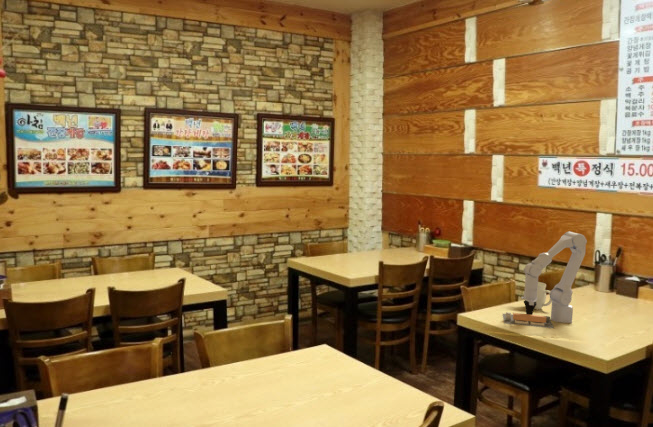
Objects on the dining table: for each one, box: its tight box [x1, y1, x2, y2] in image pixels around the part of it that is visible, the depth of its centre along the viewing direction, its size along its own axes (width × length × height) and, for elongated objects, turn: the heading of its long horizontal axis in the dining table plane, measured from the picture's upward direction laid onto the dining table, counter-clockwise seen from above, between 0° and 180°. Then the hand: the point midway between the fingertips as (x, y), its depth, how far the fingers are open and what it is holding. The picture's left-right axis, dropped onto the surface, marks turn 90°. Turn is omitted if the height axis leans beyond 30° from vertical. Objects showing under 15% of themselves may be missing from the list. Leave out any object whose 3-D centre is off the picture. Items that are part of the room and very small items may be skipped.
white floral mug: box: [522, 279, 552, 310], centre depth 299 cm, size 11×18×14 cm, turn 35°
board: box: [502, 311, 555, 329], centre depth 272 cm, size 22×18×5 cm
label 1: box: [514, 320, 528, 324], centre depth 269 cm, size 6×6×1 cm
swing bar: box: [512, 312, 551, 323], centre depth 268 cm, size 16×3×3 cm, turn 76°
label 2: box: [530, 321, 544, 326], centre depth 268 cm, size 6×6×1 cm
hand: (529, 316), depth 272 cm, fingers closed
